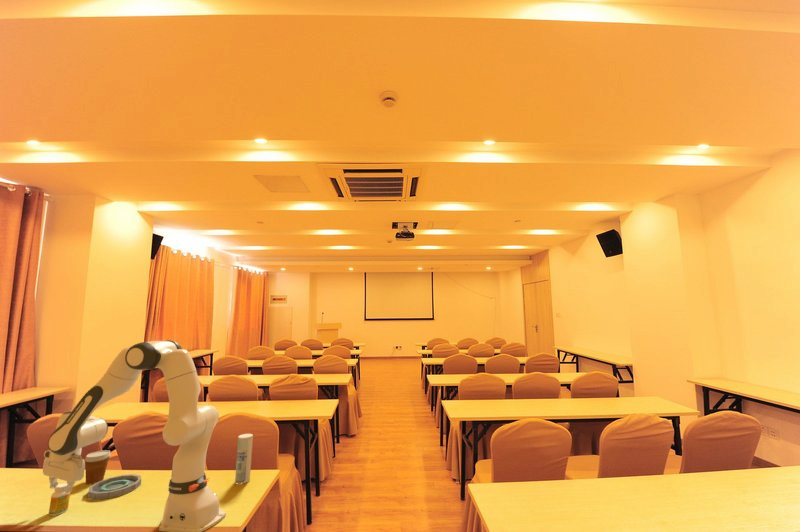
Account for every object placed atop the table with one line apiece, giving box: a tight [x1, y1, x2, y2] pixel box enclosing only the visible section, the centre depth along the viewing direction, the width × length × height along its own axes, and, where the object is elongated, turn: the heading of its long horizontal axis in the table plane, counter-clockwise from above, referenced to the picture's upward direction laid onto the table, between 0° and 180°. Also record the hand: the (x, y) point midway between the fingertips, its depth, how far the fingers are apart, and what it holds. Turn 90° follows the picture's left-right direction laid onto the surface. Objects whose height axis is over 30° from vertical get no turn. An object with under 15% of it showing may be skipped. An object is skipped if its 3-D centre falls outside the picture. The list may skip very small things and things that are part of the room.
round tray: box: [87, 473, 142, 501], centre depth 152 cm, size 18×18×2 cm
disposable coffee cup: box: [83, 449, 112, 485], centre depth 160 cm, size 10×10×12 cm
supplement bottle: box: [48, 482, 71, 517], centre depth 134 cm, size 5×5×10 cm
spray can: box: [234, 433, 254, 485], centre depth 160 cm, size 6×6×20 cm
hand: (60, 490), depth 134 cm, fingers open, 8 cm apart
